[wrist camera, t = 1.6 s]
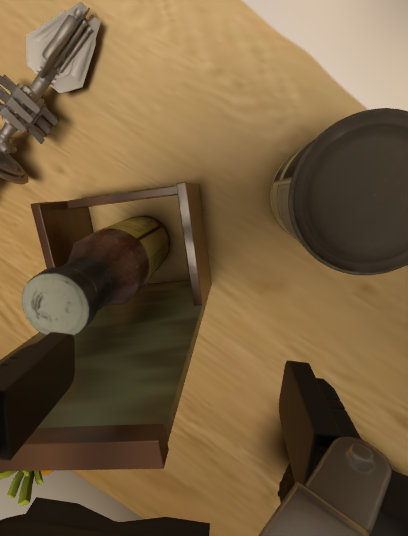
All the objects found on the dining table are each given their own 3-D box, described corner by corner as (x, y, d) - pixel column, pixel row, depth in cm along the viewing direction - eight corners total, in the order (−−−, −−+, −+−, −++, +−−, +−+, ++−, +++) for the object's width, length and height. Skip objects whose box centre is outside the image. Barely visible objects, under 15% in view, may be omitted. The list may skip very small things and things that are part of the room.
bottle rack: (198, 184, 34) (105, 169, 10) (212, 286, 37) (163, 469, 13) (80, 200, 36) (-239, 221, 12) (101, 297, 39) (-124, 473, 15)
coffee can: (286, 131, 32) (322, 88, 18) (384, 157, 32) (495, 132, 18) (256, 228, 35) (268, 252, 21) (346, 253, 34) (418, 294, 21)
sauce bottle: (109, 238, 37) (-30, 291, 18) (147, 203, 35) (40, 219, 16) (146, 279, 38) (51, 373, 18) (184, 247, 36) (125, 312, 17)
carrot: (63, 380, 42) (-27, 479, 28) (95, 371, 41) (19, 469, 27) (78, 411, 43) (-1, 521, 29) (110, 403, 42) (44, 513, 28)
